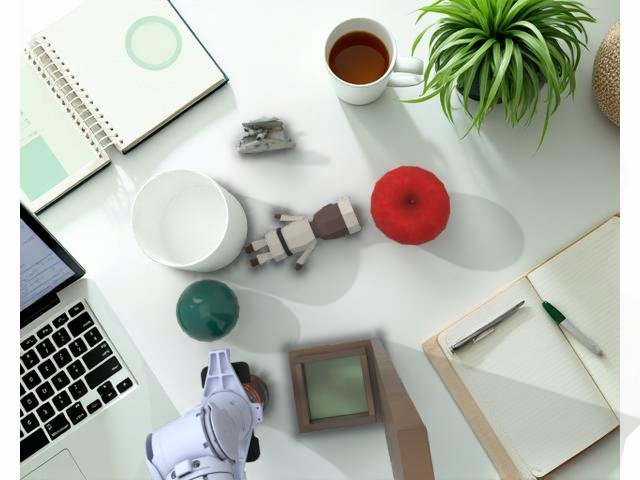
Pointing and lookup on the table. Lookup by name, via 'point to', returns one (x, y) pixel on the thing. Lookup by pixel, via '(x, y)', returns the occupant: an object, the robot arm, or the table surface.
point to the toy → (306, 233)
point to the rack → (361, 400)
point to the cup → (188, 221)
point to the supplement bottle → (257, 391)
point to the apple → (410, 205)
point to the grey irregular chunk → (264, 136)
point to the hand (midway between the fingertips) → (241, 403)
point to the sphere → (207, 310)
